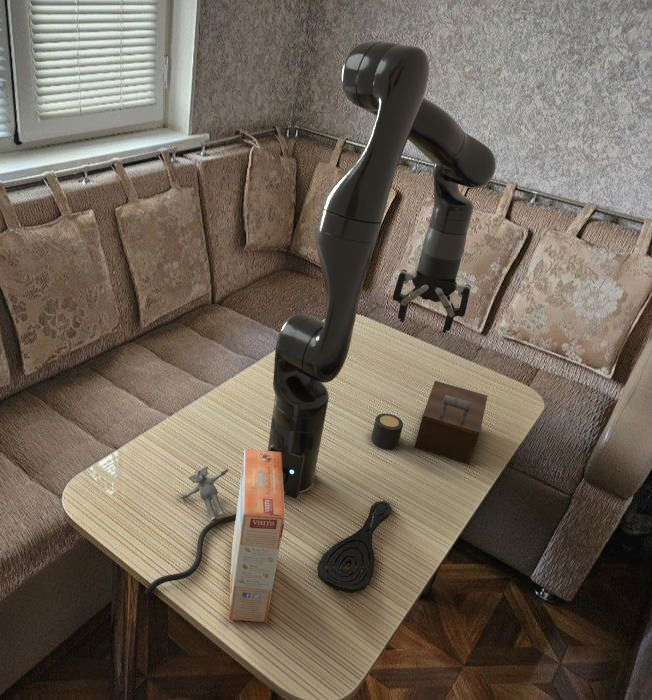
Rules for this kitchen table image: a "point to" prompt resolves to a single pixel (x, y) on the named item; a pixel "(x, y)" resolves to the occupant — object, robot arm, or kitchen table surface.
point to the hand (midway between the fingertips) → (423, 326)
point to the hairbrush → (353, 555)
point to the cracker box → (256, 535)
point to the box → (446, 441)
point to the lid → (455, 407)
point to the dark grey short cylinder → (386, 431)
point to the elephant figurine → (207, 490)
